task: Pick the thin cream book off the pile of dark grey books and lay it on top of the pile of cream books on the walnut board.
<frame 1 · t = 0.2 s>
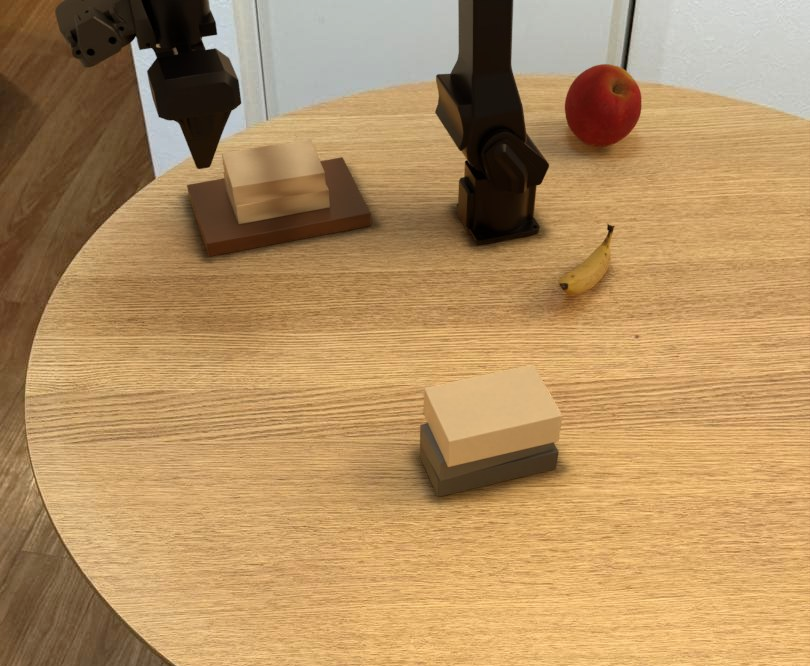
hand: (192, 137, 96), 15 cm above the table, tool pointing down, fingers open, 9 cm apart
cream book: (490, 427, 89), point 4 cm above the table, touching grey books
shelf board: (278, 211, 114), on the table
apple: (597, 142, 122), on the table
grey books: (487, 462, 92), on the table
banana: (583, 289, 106), on the table
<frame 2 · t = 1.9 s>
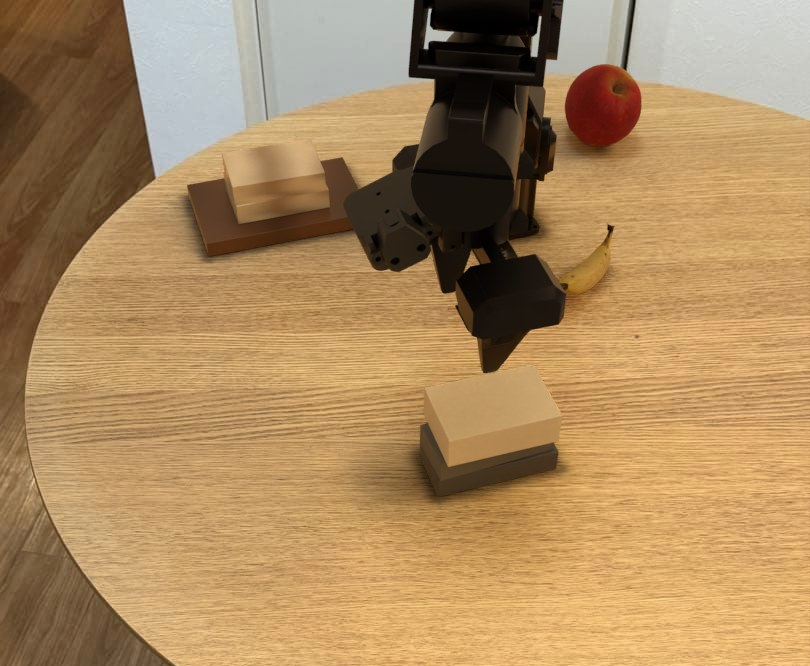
hand: (468, 330, 84), 12 cm above the table, tool pointing down, fingers open, 9 cm apart
nothing on the table moved.
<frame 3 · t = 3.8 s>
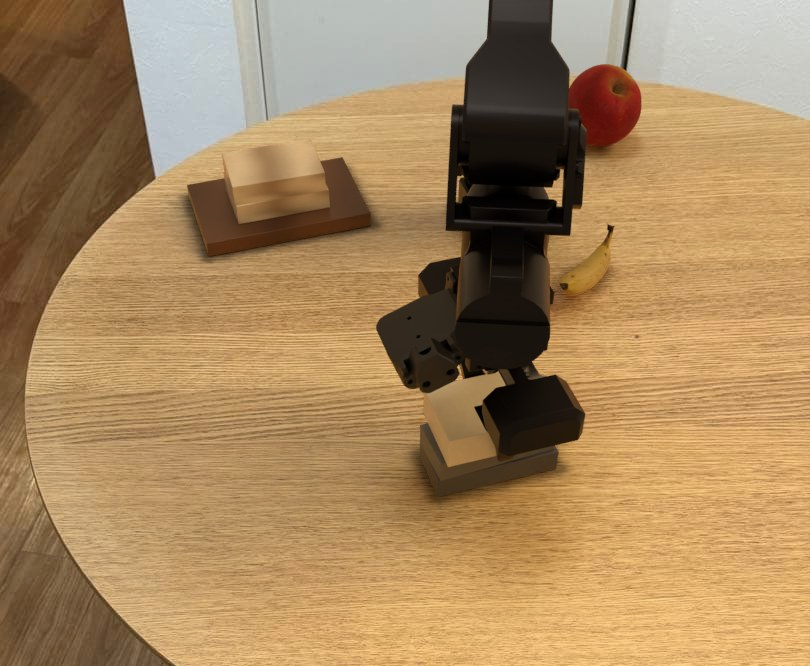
hand: (490, 430, 90), 4 cm above the table, tool pointing down, fingers closed on cream book, 6 cm apart
cream book: (490, 427, 89), point 4 cm above the table, touching grey books, gripper
everything else where it was.
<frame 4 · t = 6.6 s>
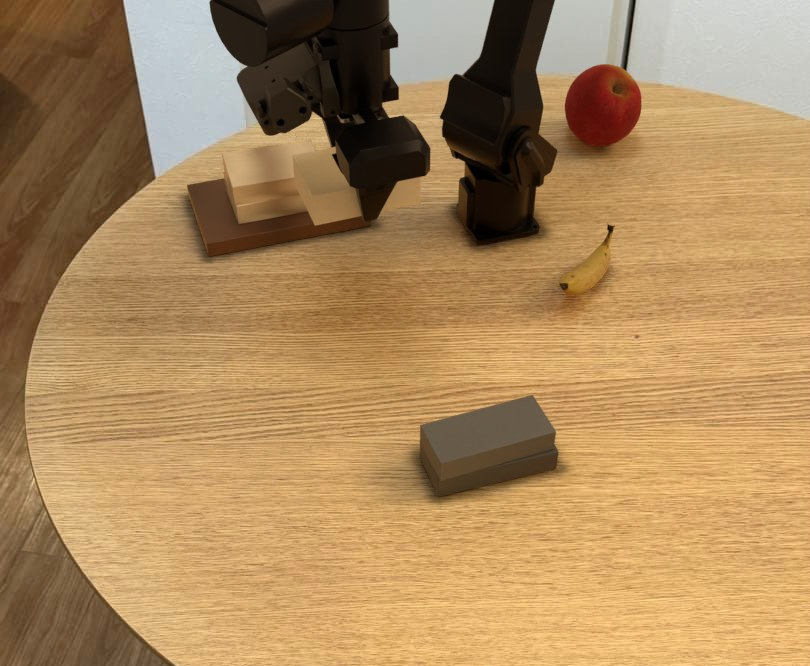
hand: (358, 197, 95), 12 cm above the table, tool pointing down, fingers closed on cream book, 6 cm apart
cream book: (357, 194, 95), point 12 cm above the table, touching gripper
everything else where it was.
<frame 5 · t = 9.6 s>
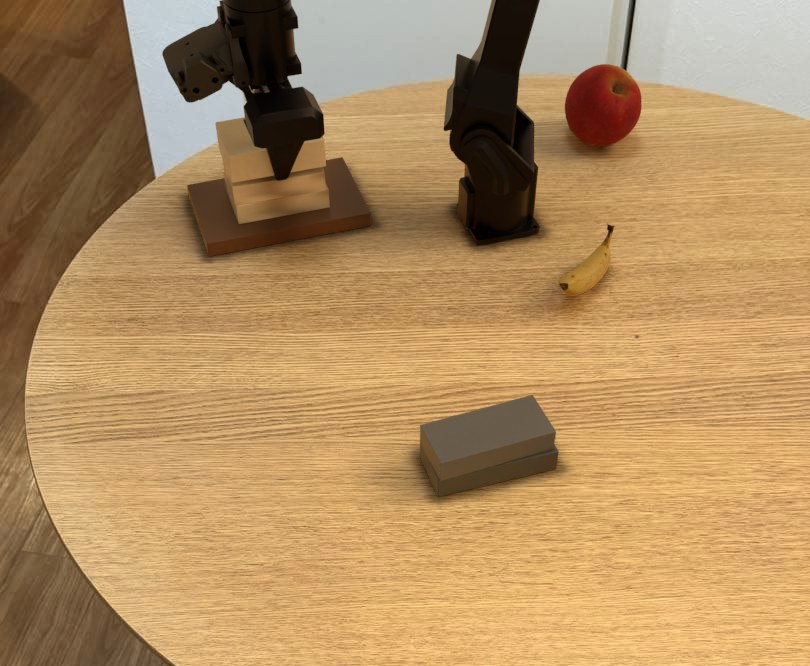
hand: (273, 160, 109), 6 cm above the table, tool pointing down, fingers closed on cream book, 6 cm apart
cream book: (272, 157, 109), point 6 cm above the table, touching gripper
everything else where it was.
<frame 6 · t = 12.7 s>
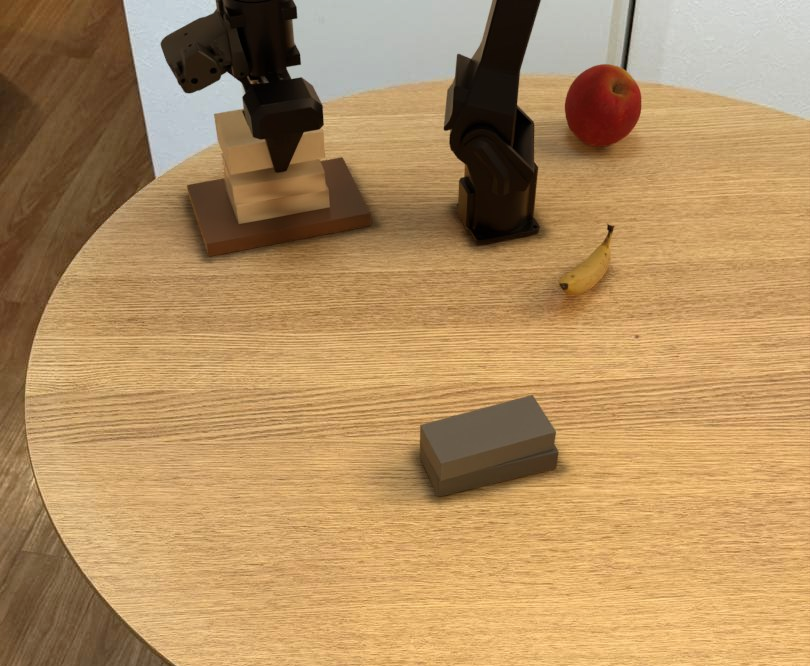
hand: (272, 152, 109), 6 cm above the table, tool pointing down, fingers closed on cream book, 6 cm apart
cream book: (271, 149, 108), point 7 cm above the table, touching gripper
everything else where it was.
when the fingers open (5 cm above the table, at t = 15.3 s): cream book stays where it is, resting on shelf board.
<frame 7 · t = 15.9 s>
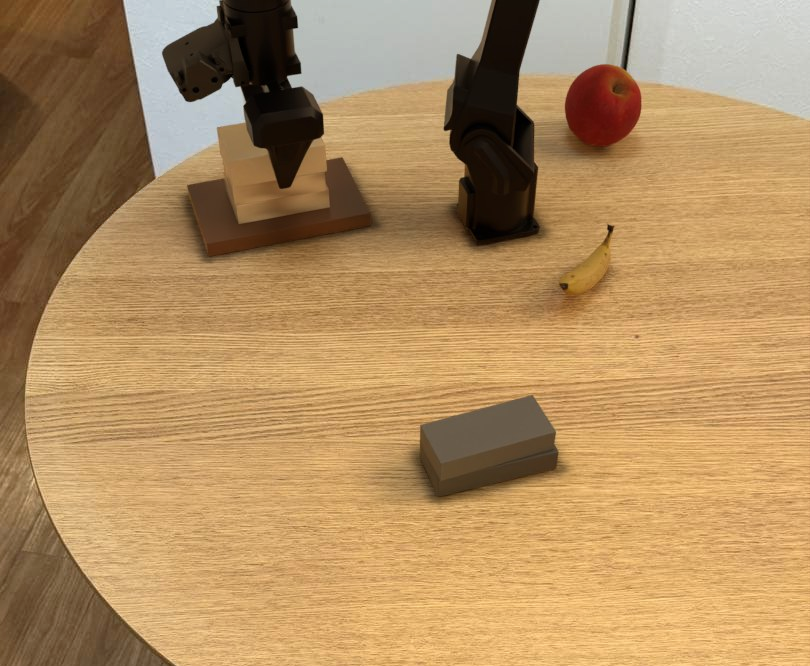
hand: (273, 160, 109), 6 cm above the table, tool pointing down, fingers open, 9 cm apart
cream book: (273, 162, 110), point 5 cm above the table, touching shelf board
everything else where it was.
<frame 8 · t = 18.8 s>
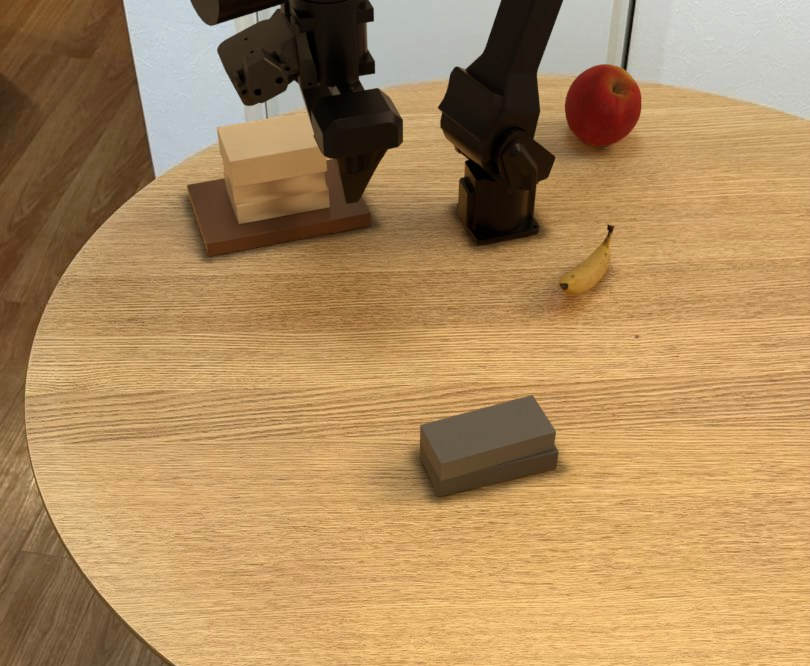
hand: (337, 171, 97), 12 cm above the table, tool pointing down, fingers open, 9 cm apart
nothing on the table moved.
at the end: cream book 0.1 cm off-centre on the shelf board, point 5.5 cm above the shelf board's base; cream book tilted 0°; the gripper is holding nothing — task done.
